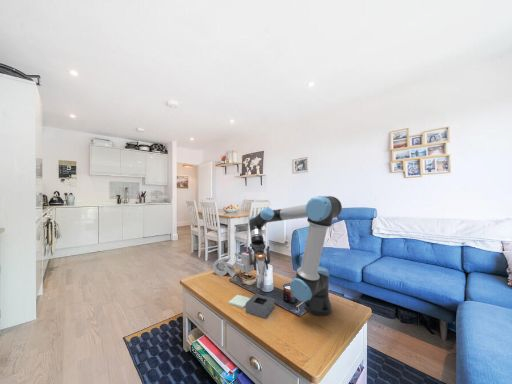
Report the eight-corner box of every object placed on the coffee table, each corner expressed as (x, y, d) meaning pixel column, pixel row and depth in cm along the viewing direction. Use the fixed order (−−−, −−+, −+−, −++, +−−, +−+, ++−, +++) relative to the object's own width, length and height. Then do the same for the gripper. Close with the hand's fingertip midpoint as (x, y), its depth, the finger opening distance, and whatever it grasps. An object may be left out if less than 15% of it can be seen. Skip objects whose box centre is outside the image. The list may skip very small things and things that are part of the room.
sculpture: (235, 277, 166) (240, 259, 164) (232, 280, 159) (237, 262, 158) (215, 269, 171) (219, 251, 170) (211, 271, 164) (215, 253, 163)
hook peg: (268, 285, 117) (268, 253, 118) (263, 290, 112) (263, 256, 112) (257, 283, 120) (258, 252, 120) (252, 287, 115) (253, 255, 115)
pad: (251, 300, 126) (251, 298, 126) (243, 308, 117) (243, 306, 117) (237, 296, 131) (237, 294, 131) (228, 303, 122) (228, 302, 122)
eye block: (274, 307, 119) (274, 298, 119) (265, 318, 108) (266, 309, 108) (255, 302, 124) (255, 293, 124) (245, 312, 113) (245, 303, 113)
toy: (248, 282, 151) (248, 254, 151) (232, 275, 163) (233, 249, 163) (257, 278, 158) (257, 251, 158) (241, 272, 170) (242, 247, 170)
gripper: (269, 241, 133) (276, 277, 116) (242, 241, 130) (245, 279, 113) (271, 234, 127) (278, 271, 111) (243, 235, 125) (247, 273, 108)
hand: (262, 275), depth 112 cm, fingers closed on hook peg, 4 cm apart
